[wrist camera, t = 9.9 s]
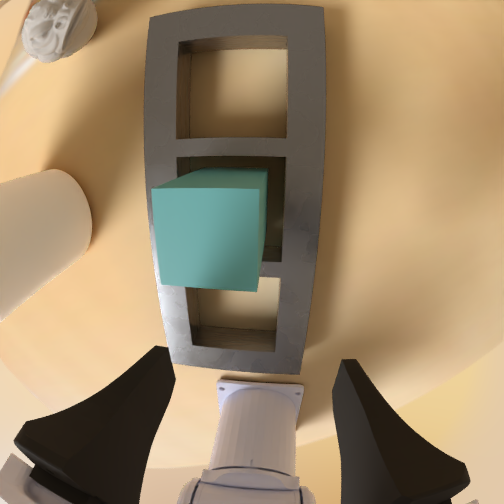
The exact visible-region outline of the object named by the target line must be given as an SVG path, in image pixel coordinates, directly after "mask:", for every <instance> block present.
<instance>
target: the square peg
mask: <svg viewBox="0 0 504 504" xmlns="http://www.w3.org/2000/svg"><path fill="white" fill-rule="evenodd" d="M151 192H152V206H153V219H154V230H155V239H156V249H157V257H158V265H159V273H160V280H161V285H171V286H182V287H194V288H207V289H220V290H234V291H250V292H257V288H258V282H259V275H260V269H261V263H262V256H263V250H264V243H265V237H266V230H267V199H268V168H247V167H205V168H202V169H199V170H197V171H194V172H191V173H189V174H186V175H184V176H181V177H179V178H176V179H174V180H171V181H169V182H166V183H164V184H161V185H159V186H157V187H154V188H152V189H151Z"/></svg>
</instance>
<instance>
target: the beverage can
mask: <svg viewBox="0 0 504 504" xmlns="http://www.w3.org/2000/svg"><path fill="white" fill-rule="evenodd" d="M91 234H92V218H91V212H90V208H89V204H88V201H87V199H86V196H85V194H84V192H83V190H82V189H81V187H80V186H79V184H78V183H77V182H76V180H75V179H74V178H73V177H71V176H70V175H69V174H67V173H66V172H64V171H61V170H58V169H50V170H46V171H42V172H38V173H34V174H31V175H27V176H24V177H20V178H17V179H14V180H10V181H7V182H4V183H1V184H0V323H1V322H2V321H3V320H4V319H5V318H6V317H7V316H9V315H10V314H11V313H12V312H13V311H14V310H15V309H17V308H18V307H19V306H20V305H21V304H22V303H24V302H25V301H26V300H27V299H28V298H30V297H31V296H32V295H33V294H35V293H36V292H37V291H38V290H40V289H41V288H42V287H43V286H45V285H46V284H47V283H48V282H50V281H51V280H52V279H54V278H55V277H56V276H58V275H59V274H60V273H61V272H63V271H64V270H65V269H67V268H68V267H69V266H71V265H72V264H74V263H75V262H76V261H78V260H79V259H80V258H81V257H82V256H83V255H84V254H85V252H86V251H87V249H88V246H89V244H90V240H91Z"/></svg>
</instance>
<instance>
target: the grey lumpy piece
mask: <svg viewBox="0 0 504 504" xmlns="http://www.w3.org/2000/svg"><path fill="white" fill-rule="evenodd" d="M95 7H96V5H95V4H94V3H93V1H91V0H41V1H40V2H38V3H36V4H35V5H33V6H32V8H31V10H30V13H29V15H28V17H27V18H26V19H25V23H24V26H23V29H22V42H23V46H24V49H25V51H26V52H27V53H28V54H29V55H30V56H32V57H33V58H35V59H39V61H41V62H43V63H51V62H54V61H56V60H59V59H60V58H65V57H69V56H71V55H72V54H73V53H75V52H77V51H78V50H80V49H81V48H82V47H84V46H85V45H86V44H87V43H88V42H89V40H90V39H91V37H92V36H93V34H94V32H95V30H96V27H97V22H98V16H97V12H96V9H95Z"/></svg>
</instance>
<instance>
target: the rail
mask: <svg viewBox="0 0 504 504" xmlns="http://www.w3.org/2000/svg"><path fill="white" fill-rule="evenodd" d="M232 49H287V107H286V138H259V137H223V138H194V139H190V75H191V53H195V52H205V51H216V50H232ZM325 125H326V53H325V27H324V9H323V7H317V6H307V5H292V4H240V5H225V6H214V7H205V8H198V9H191V10H184V11H179V12H173V13H168V14H163V15H159V16H154V17H150V21H149V30H148V40H147V51H146V66H145V86H144V158H145V179H146V195H147V208H148V219H149V229H150V239H151V247H152V255H153V263H154V270H155V277H156V284H157V290H158V296H159V302H160V308H161V314H162V319H163V324H164V330H165V335H166V339H167V344H168V348H169V352H170V357H171V361H172V363H176V364H182V365H189V366H196V367H204V368H212V369H221V370H231V371H242V372H254V373H271V374H296V375H300V369H301V364H302V358H303V352H304V346H305V340H306V333H307V327H308V320H309V313H310V306H311V299H312V291H313V283H314V275H315V266H316V257H317V248H318V238H319V227H320V216H321V203H322V189H323V173H324V153H325ZM190 156H275V157H285V183H284V208H283V229H282V247H274V246H264V250H263V256H262V263H261V269H260V275H259V277H276V278H280V282H279V297H278V311H277V325H276V331H263V330H247V329H234V328H222V327H211V326H201V325H200V317H199V307H198V297H197V288H194V287H182V286H171V285H161V280H160V273H159V265H158V257H157V249H156V239H155V230H154V219H153V206H152V192H151V189H152V188H154V187H157V186H159V185H161V184H164V183H166V182H169V181H171V180H174V179H176V178H179V177H181V176H184V175H186V174H189V173H190Z"/></svg>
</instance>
